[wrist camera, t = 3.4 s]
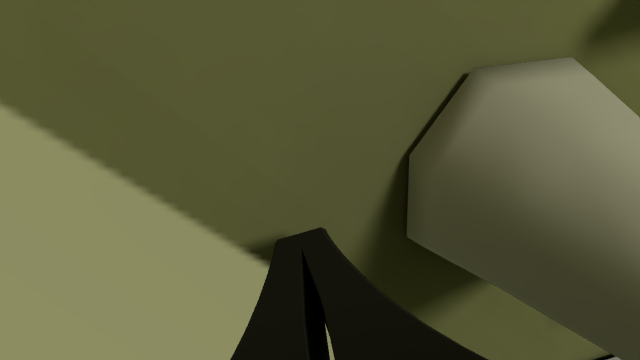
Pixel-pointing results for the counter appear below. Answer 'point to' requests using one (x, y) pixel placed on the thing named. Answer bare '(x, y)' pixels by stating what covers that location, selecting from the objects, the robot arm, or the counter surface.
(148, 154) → the counter surface
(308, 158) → the counter surface
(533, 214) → the flask
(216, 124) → the counter surface
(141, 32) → the counter surface
